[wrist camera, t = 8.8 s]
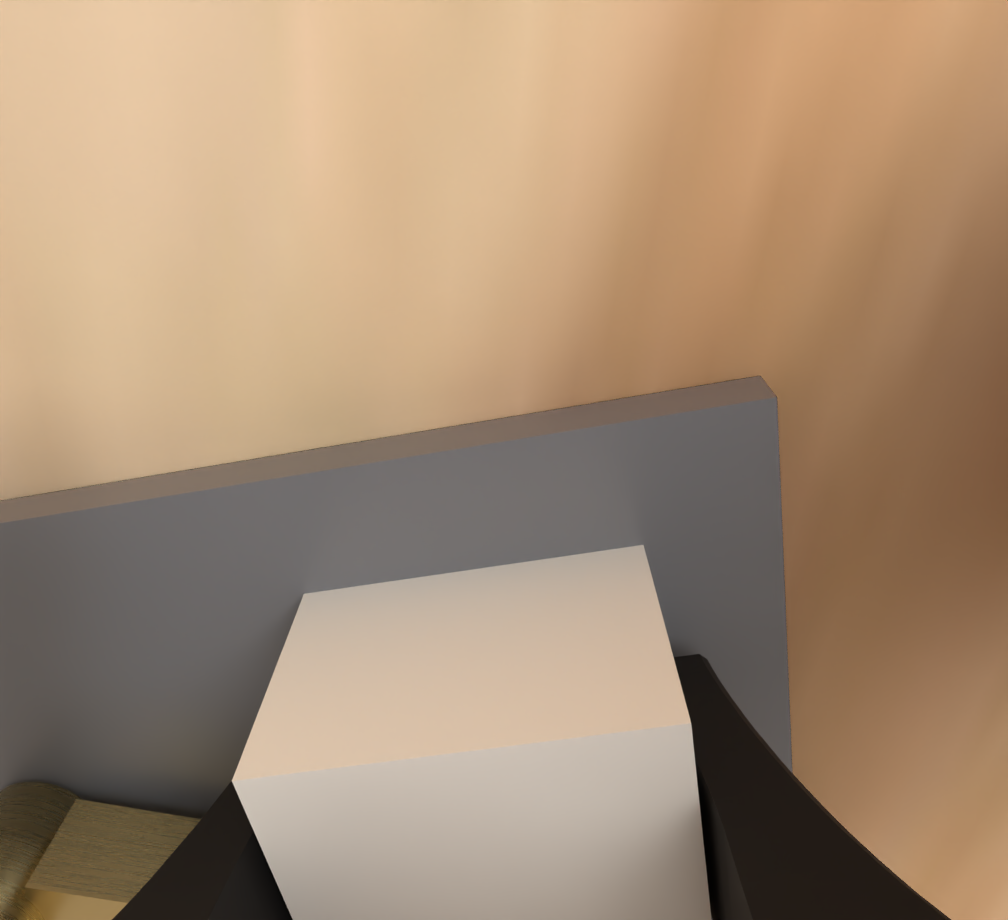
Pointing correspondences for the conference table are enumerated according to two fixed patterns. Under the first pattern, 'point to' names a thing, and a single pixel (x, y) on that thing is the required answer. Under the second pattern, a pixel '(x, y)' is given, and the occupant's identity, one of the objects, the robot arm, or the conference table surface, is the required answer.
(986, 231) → the conference table surface
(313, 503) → the base plate
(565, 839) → the cream foam cube
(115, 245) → the conference table surface
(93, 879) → the l-shaped bracket
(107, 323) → the conference table surface
